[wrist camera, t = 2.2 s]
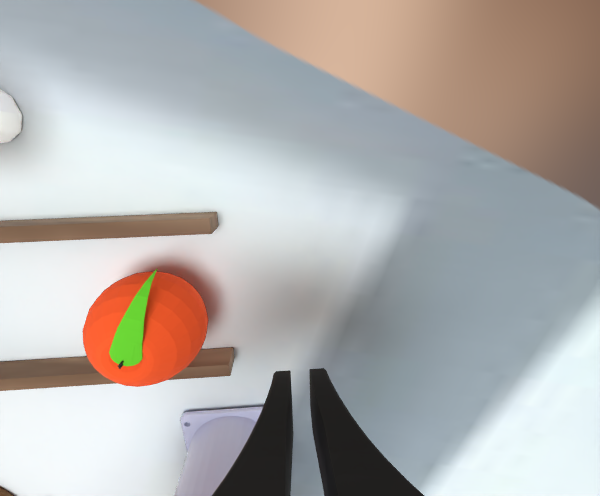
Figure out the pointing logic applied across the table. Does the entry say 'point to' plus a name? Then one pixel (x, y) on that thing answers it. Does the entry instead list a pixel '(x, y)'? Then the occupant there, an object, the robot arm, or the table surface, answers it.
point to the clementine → (145, 328)
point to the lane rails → (10, 231)
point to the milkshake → (9, 118)
